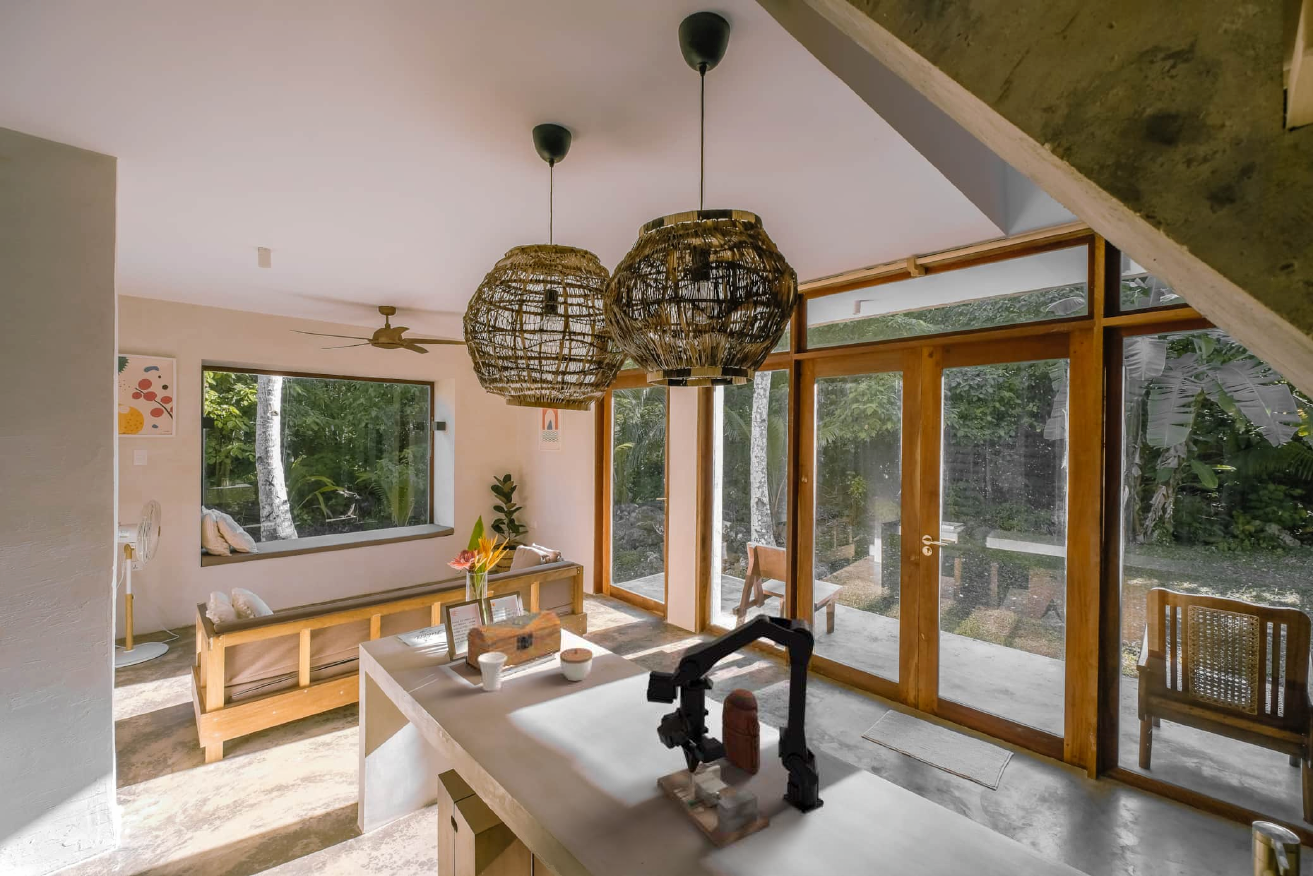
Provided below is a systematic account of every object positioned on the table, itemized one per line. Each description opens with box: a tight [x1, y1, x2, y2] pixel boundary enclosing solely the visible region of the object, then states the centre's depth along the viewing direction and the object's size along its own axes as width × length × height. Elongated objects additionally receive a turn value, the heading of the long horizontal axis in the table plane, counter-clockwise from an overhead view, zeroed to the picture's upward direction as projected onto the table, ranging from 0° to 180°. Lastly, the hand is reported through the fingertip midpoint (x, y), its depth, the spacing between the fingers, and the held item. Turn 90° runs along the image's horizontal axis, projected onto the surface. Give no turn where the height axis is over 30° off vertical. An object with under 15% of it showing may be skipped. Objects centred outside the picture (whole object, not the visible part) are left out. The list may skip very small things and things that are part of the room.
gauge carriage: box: [690, 764, 728, 807], centre depth 128 cm, size 9×9×5 cm
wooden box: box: [466, 609, 562, 670], centre depth 214 cm, size 30×16×14 cm, turn 134°
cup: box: [478, 652, 507, 692], centre depth 189 cm, size 9×9×10 cm
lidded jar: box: [559, 647, 593, 682], centre depth 197 cm, size 11×11×9 cm
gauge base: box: [656, 762, 771, 849], centre depth 131 cm, size 13×24×6 cm, turn 31°
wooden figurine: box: [721, 688, 761, 774], centre depth 147 cm, size 12×6×18 cm, turn 42°
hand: (692, 772), depth 137 cm, fingers closed
